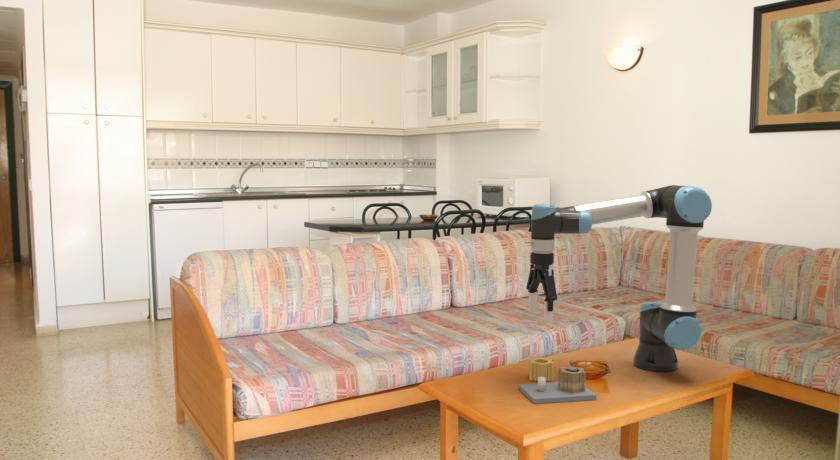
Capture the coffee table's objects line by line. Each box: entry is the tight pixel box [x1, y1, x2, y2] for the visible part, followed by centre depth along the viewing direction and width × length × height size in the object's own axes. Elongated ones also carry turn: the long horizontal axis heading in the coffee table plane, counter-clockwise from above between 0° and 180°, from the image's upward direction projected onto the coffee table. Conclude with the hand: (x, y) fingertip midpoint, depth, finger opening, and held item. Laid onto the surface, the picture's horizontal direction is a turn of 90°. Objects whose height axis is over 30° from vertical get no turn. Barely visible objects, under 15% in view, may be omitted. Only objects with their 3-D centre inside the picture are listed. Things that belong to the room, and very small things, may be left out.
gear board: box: [518, 366, 597, 405], centre depth 213 cm, size 20×14×8 cm
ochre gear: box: [528, 357, 555, 383], centre depth 229 cm, size 8×8×6 cm
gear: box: [557, 365, 587, 393], centre depth 214 cm, size 8×8×6 cm
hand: (540, 316), depth 224 cm, fingers open, 13 cm apart
